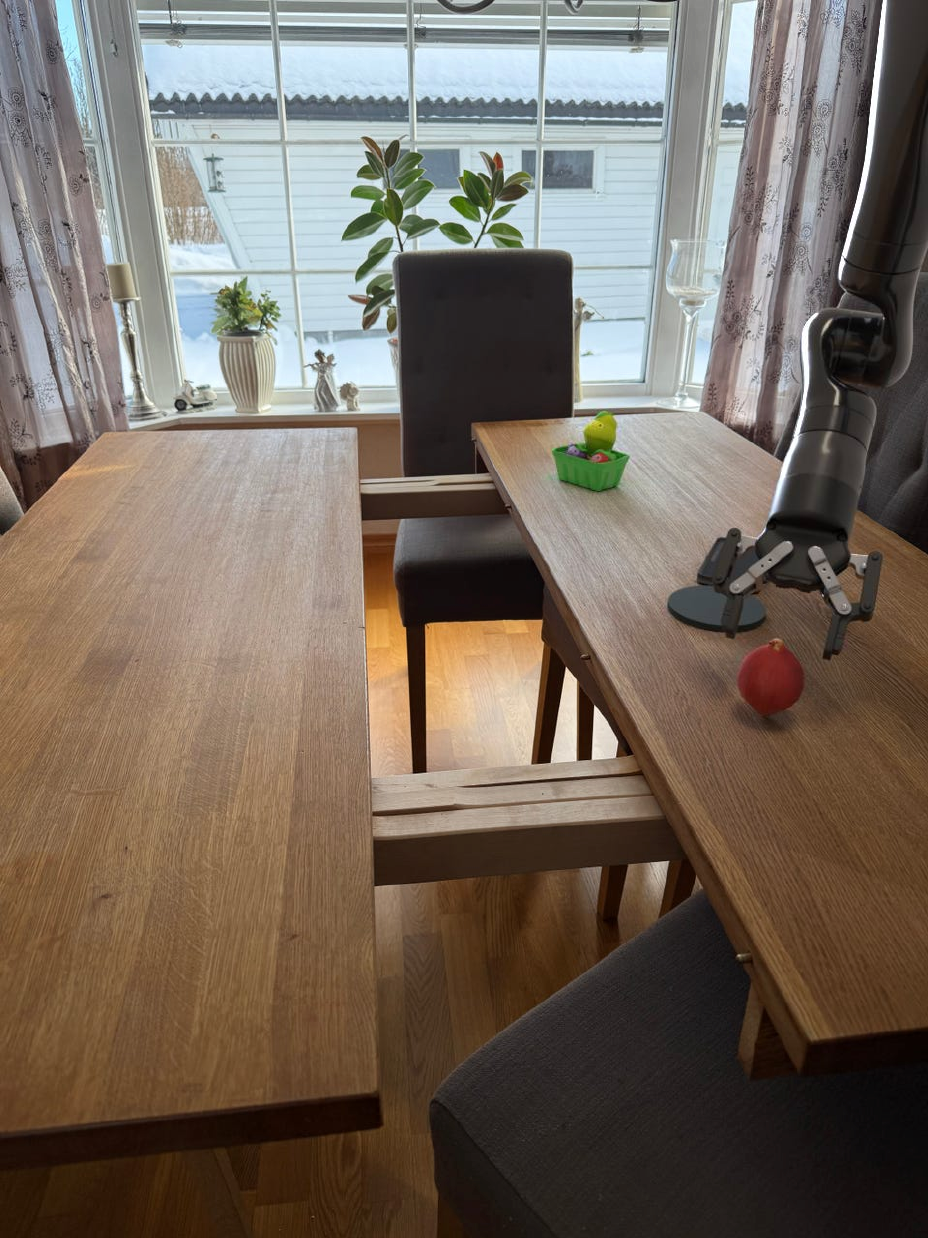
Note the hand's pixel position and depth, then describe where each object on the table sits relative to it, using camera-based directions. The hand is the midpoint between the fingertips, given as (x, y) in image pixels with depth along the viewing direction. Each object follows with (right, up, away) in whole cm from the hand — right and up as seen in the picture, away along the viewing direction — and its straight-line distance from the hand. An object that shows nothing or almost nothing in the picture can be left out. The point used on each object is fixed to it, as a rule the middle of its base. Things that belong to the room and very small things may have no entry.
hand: (777, 646), depth 80 cm
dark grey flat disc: (+1, +3, +22) cm, 22 cm away
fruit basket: (-7, +25, +67) cm, 72 cm away
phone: (+7, +9, +34) cm, 36 cm away
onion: (-1, -7, +2) cm, 7 cm away
